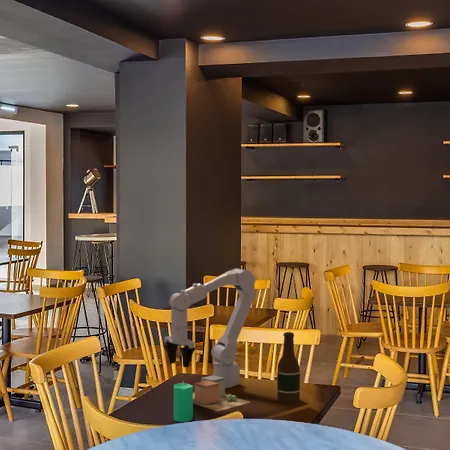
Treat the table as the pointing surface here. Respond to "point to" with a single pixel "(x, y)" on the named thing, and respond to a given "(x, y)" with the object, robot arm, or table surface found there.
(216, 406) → the board
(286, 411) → the table surface
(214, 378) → the grey square box
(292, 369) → the beer bottle
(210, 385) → the small tan cube
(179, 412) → the candle
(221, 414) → the table surface
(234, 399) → the three marbles
